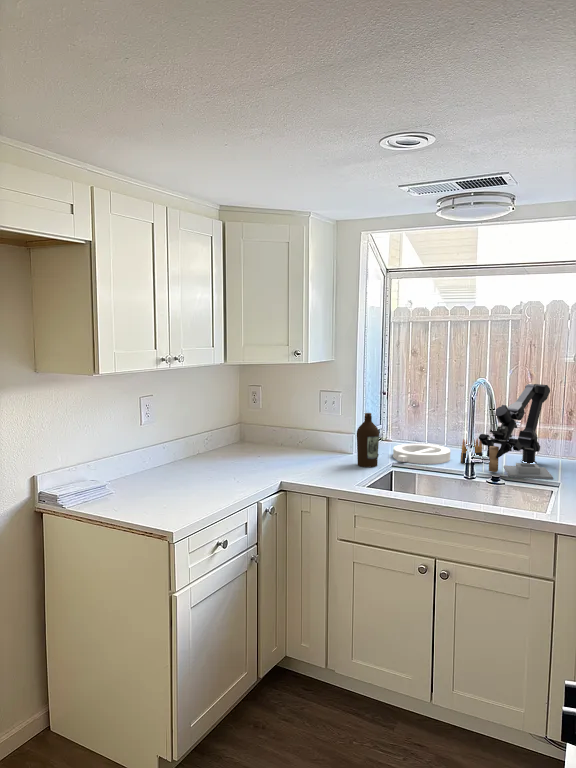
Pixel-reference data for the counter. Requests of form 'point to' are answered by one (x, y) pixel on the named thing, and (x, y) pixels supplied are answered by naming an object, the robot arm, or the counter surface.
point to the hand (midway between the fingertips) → (492, 456)
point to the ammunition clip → (477, 450)
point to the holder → (528, 471)
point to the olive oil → (367, 443)
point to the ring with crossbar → (421, 453)
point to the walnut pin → (493, 458)
